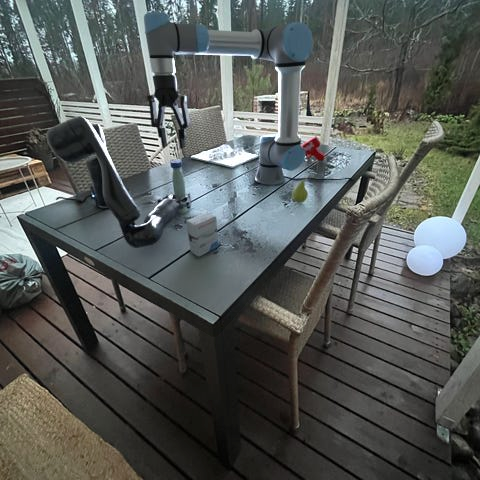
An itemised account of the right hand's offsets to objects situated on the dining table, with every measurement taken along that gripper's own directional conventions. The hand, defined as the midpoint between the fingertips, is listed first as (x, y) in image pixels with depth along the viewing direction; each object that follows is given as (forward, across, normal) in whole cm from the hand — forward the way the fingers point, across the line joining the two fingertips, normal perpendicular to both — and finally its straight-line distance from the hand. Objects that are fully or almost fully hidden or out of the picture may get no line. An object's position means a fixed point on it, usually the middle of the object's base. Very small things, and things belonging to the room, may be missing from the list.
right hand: (173, 147), depth 101 cm
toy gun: (+26, -51, -83) cm, 101 cm away
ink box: (+26, -18, +25) cm, 41 cm away
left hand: (+20, 0, -3) cm, 20 cm away
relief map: (+26, +3, -79) cm, 84 cm away
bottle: (+26, 0, 0) cm, 26 cm away
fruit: (+26, -48, -19) cm, 58 cm away
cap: (+6, 0, 0) cm, 6 cm away
